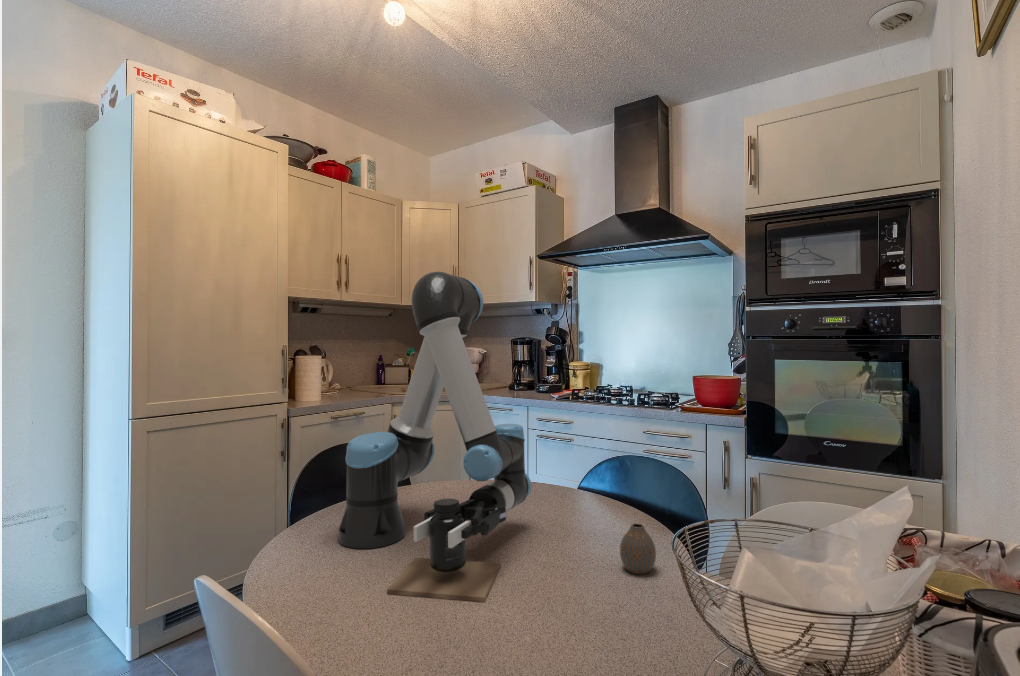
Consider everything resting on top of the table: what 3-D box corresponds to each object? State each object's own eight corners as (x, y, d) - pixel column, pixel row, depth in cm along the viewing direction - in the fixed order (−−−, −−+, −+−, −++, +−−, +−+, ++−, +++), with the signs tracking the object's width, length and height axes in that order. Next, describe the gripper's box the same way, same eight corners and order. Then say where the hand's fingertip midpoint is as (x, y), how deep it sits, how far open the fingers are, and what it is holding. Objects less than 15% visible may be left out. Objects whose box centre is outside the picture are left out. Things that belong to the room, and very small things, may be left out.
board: (386, 593, 91) (386, 589, 91) (415, 561, 105) (415, 557, 105) (484, 602, 88) (484, 597, 88) (500, 567, 102) (500, 563, 102)
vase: (657, 579, 96) (657, 532, 96) (620, 576, 97) (619, 530, 98) (654, 564, 103) (654, 520, 103) (619, 561, 104) (619, 518, 104)
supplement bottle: (468, 558, 99) (468, 496, 100) (462, 573, 93) (461, 507, 93) (434, 557, 100) (433, 496, 100) (425, 572, 93) (424, 507, 93)
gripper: (532, 524, 108) (480, 567, 88) (453, 513, 117) (388, 549, 96) (531, 489, 109) (479, 523, 88) (452, 480, 117) (388, 509, 96)
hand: (432, 537), depth 92 cm, fingers closed on supplement bottle, 7 cm apart
